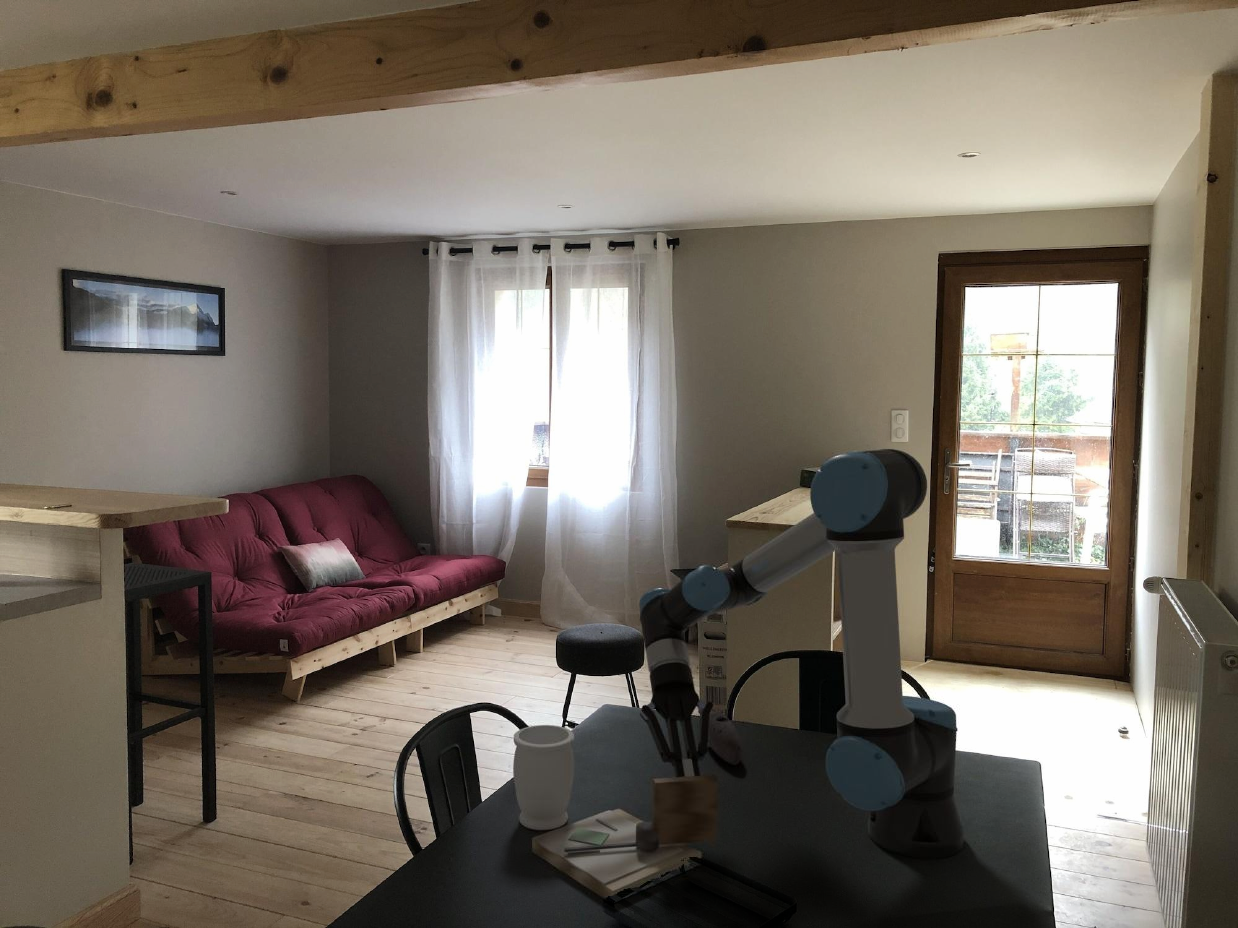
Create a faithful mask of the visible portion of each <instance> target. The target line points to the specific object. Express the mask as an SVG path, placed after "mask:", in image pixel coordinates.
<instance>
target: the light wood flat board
mask: <svg viewBox="0 0 1238 928" xmlns="http://www.w3.org/2000/svg"><path fill="white" fill-rule="evenodd" d="M640 822H644V821H643V820H641V819H639V818H637V817H635V816H633V815H632V814H630V813H628V812H626V811H624V810H623V809H620V808H616V809H612V810H610V809H609V810H605V811H603V812H599V813H598V814H594V815H593V816H592V815H591V816H589V817H587V818H584V819H581V820H579V821H575V822H573V823H569V824H568V825H565V826H561V827H558V828H555V829H552V830H549V831H547V832H545V833H542V834H540V835H536V836H534V837H532V838H531V841H532V842H531V846H532V847H531V848H532V850H531V851H532V853H533V854H534V855H536V856H538V857H539V858H540V859H543V860H544V861H545V862H547V863H549V864H550V865H552V866H553V867H555V868H556V869H558V870H559V871H561V872H562V873H564V874H565V875H567V876H569V877H570V878H572V879H574V880H575V881H576V882H577V883H580V884H581V885H582V886H584V887H586V888H587V889H589V890H590V891H592V892H594V893H595V894H596V895H598V896H600V897H601V898H603V899H604V900H606V899H605V898H607V897H608V896H613V895H615V894H617V893H618V892H620V891H623V890H624V889H628V888H635V887H640V886H641V885H643V884H644V883H646V882H647V881H651V879H653V878H654V879H655V878H660V877H661V875H662V874H663V875H664V874H665V873H666V872H668V871H672V870H675V869H678V868H679V867H680V868H681V866H682V865H683V864H684V865H686V866H689V864H690V863H689V862H688V861H687V860H689V859H690V858H689V857H698V858H703V857H702V856H703V854H702V853H703V852H702V851H700V850H698V849H696V848H694V847H692V846H690V845H689V844H688V843H679V844H666V845H659V847H658V848H657V849H655V850H652V851H643V850H640V849H638V848H637V847H624V848H611V849H598V850H586V851H573V852H565V851H564V848H568V847H581V846H594V845H606V844H619V843H632V842H636V825H637V824H638V823H640ZM685 858H686V859H685ZM683 859H684V861H681V860H683Z"/></svg>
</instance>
